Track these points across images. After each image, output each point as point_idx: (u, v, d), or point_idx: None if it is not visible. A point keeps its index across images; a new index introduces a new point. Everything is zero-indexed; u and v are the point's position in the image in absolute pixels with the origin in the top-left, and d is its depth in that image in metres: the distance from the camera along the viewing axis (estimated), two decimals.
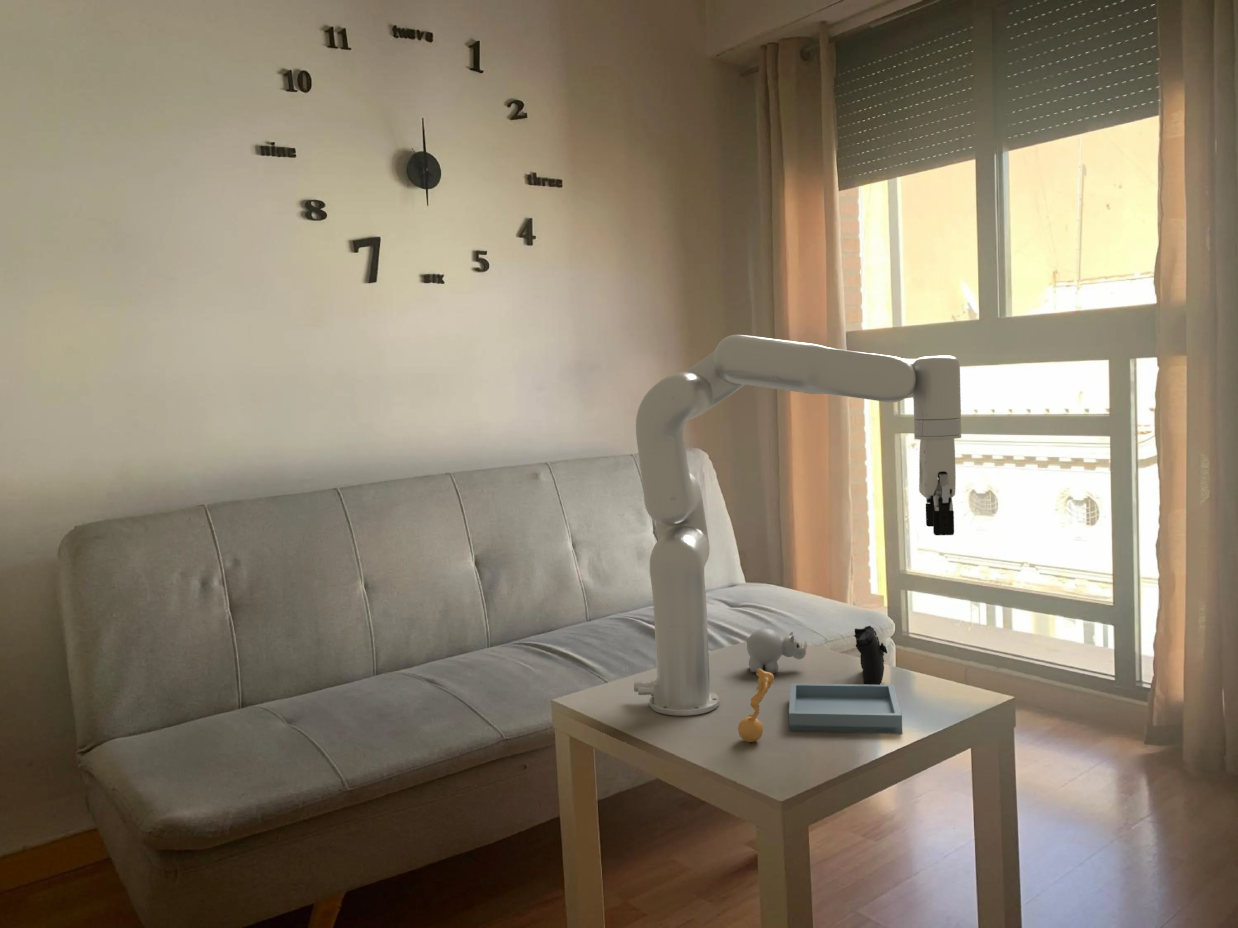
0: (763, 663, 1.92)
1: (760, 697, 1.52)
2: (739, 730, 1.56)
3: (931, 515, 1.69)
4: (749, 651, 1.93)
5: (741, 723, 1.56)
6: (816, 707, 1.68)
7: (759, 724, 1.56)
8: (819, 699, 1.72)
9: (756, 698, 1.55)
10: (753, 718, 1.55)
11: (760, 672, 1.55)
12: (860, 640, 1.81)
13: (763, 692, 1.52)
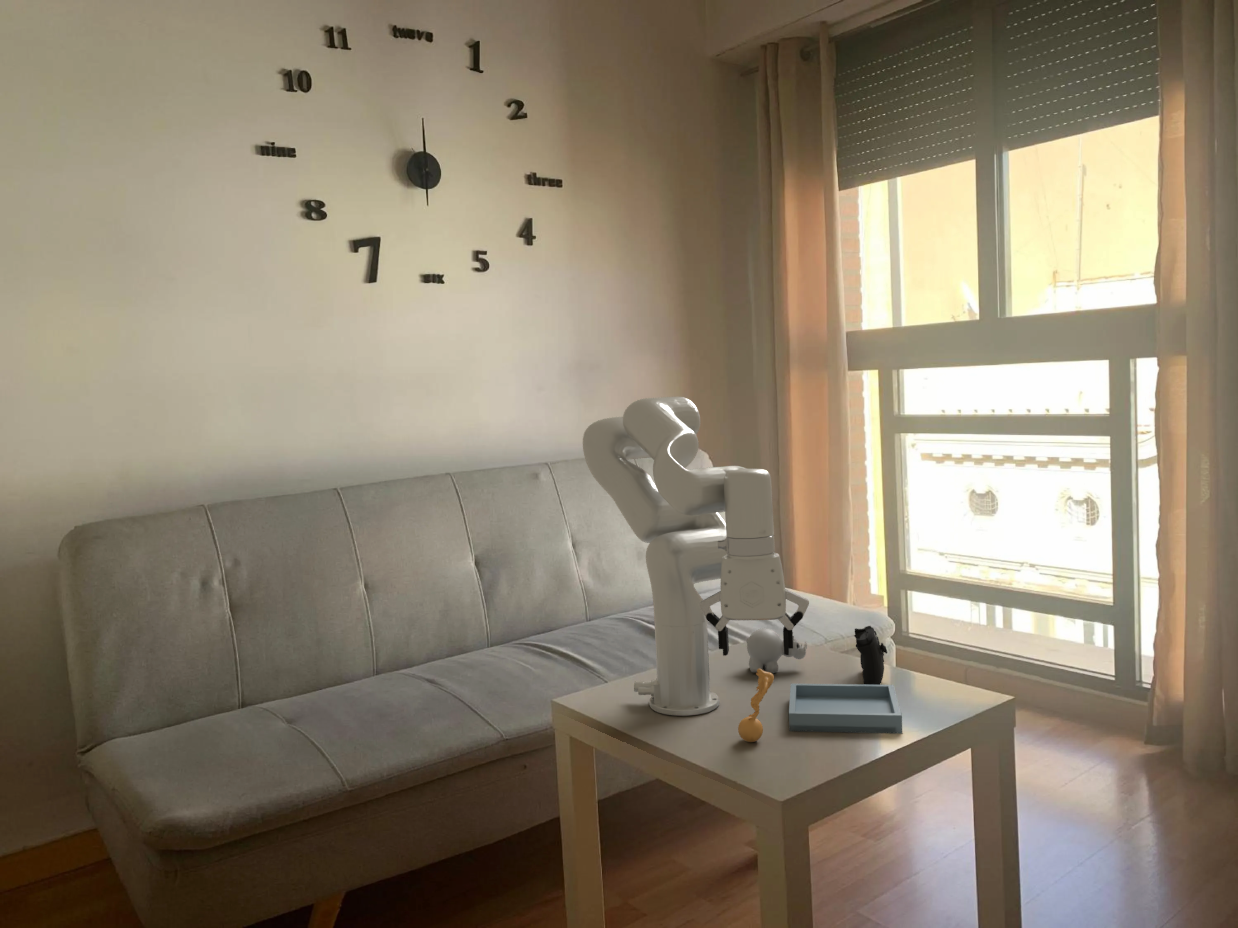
0: (763, 663, 1.92)
1: (760, 697, 1.52)
2: (739, 730, 1.56)
3: (727, 642, 1.55)
4: (749, 651, 1.93)
5: (741, 723, 1.56)
6: (816, 707, 1.68)
7: (759, 724, 1.56)
8: (819, 699, 1.72)
9: (756, 698, 1.55)
10: (753, 718, 1.55)
11: (760, 672, 1.55)
12: (860, 640, 1.81)
13: (763, 692, 1.52)
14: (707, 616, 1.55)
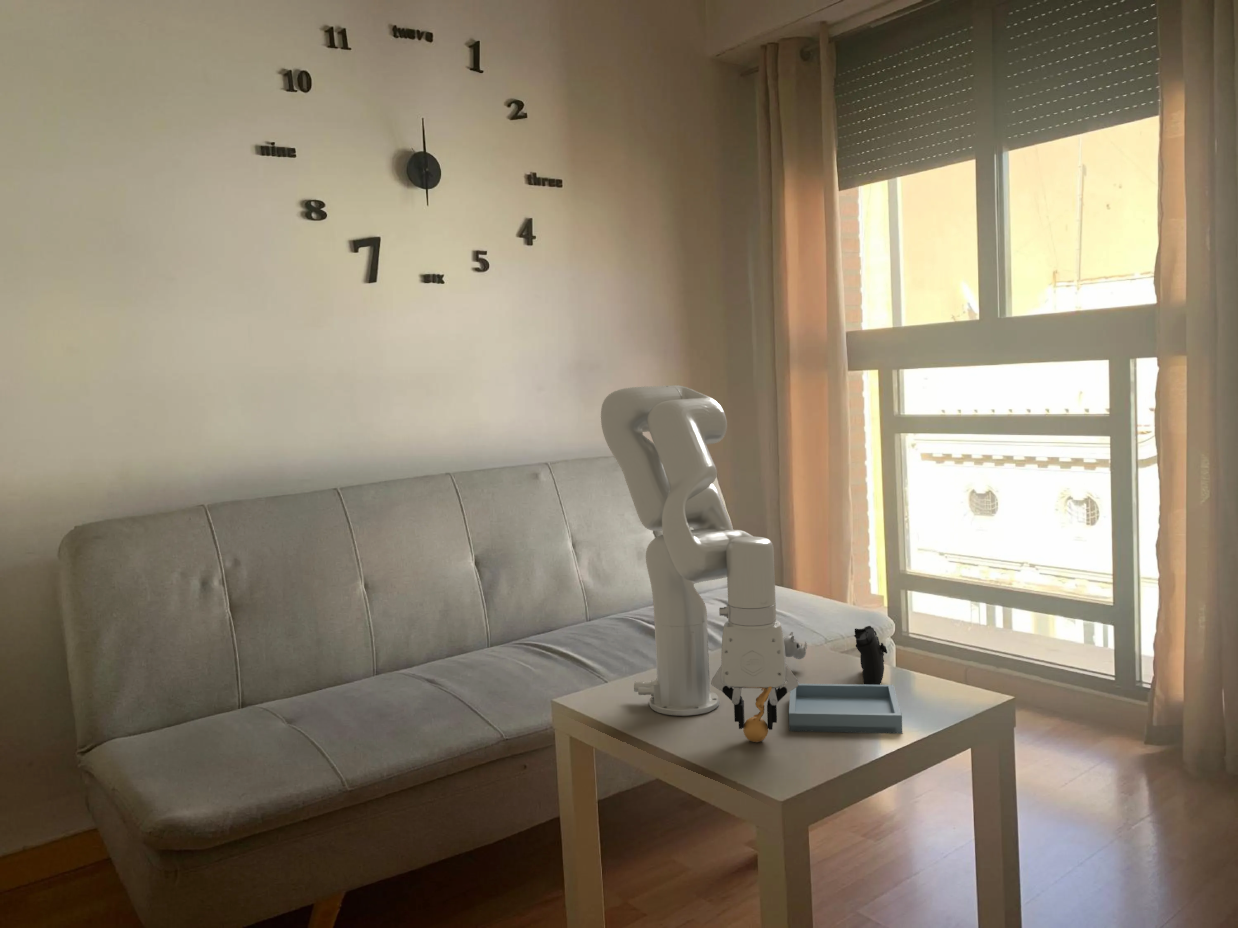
0: None
1: (765, 697, 1.52)
2: (744, 730, 1.56)
3: (743, 715, 1.56)
4: None
5: (746, 723, 1.56)
6: (816, 707, 1.68)
7: (764, 724, 1.55)
8: (819, 699, 1.72)
9: (761, 698, 1.55)
10: (758, 718, 1.55)
11: None
12: (860, 640, 1.81)
13: (768, 692, 1.52)
14: (723, 689, 1.56)
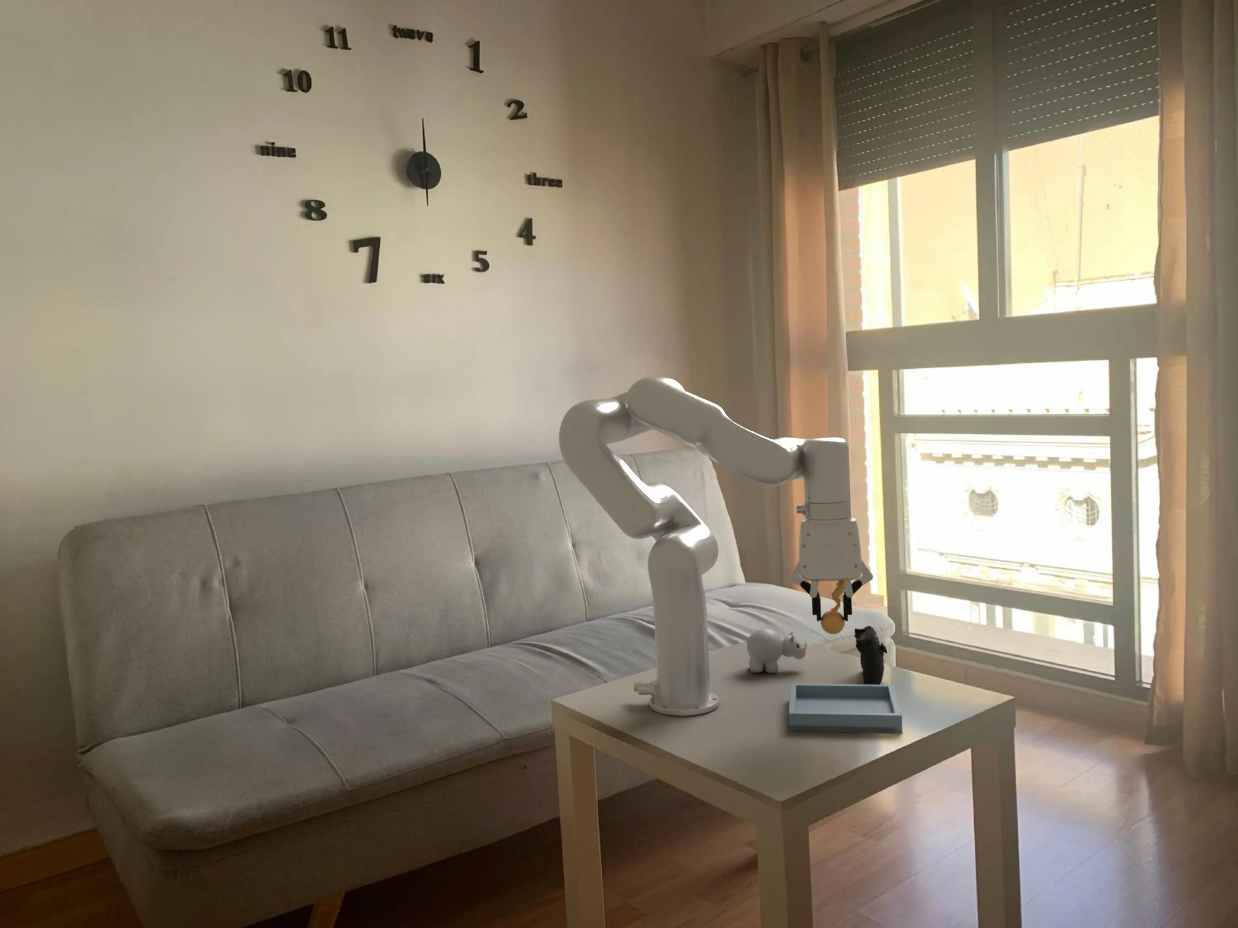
0: (763, 663, 1.92)
1: (841, 588, 1.59)
2: (822, 623, 1.63)
3: (820, 608, 1.63)
4: (749, 651, 1.93)
5: (823, 616, 1.63)
6: (816, 707, 1.68)
7: (841, 616, 1.63)
8: (819, 699, 1.72)
9: (837, 591, 1.62)
10: (835, 610, 1.63)
11: None
12: (860, 640, 1.81)
13: (844, 583, 1.60)
14: (801, 584, 1.64)
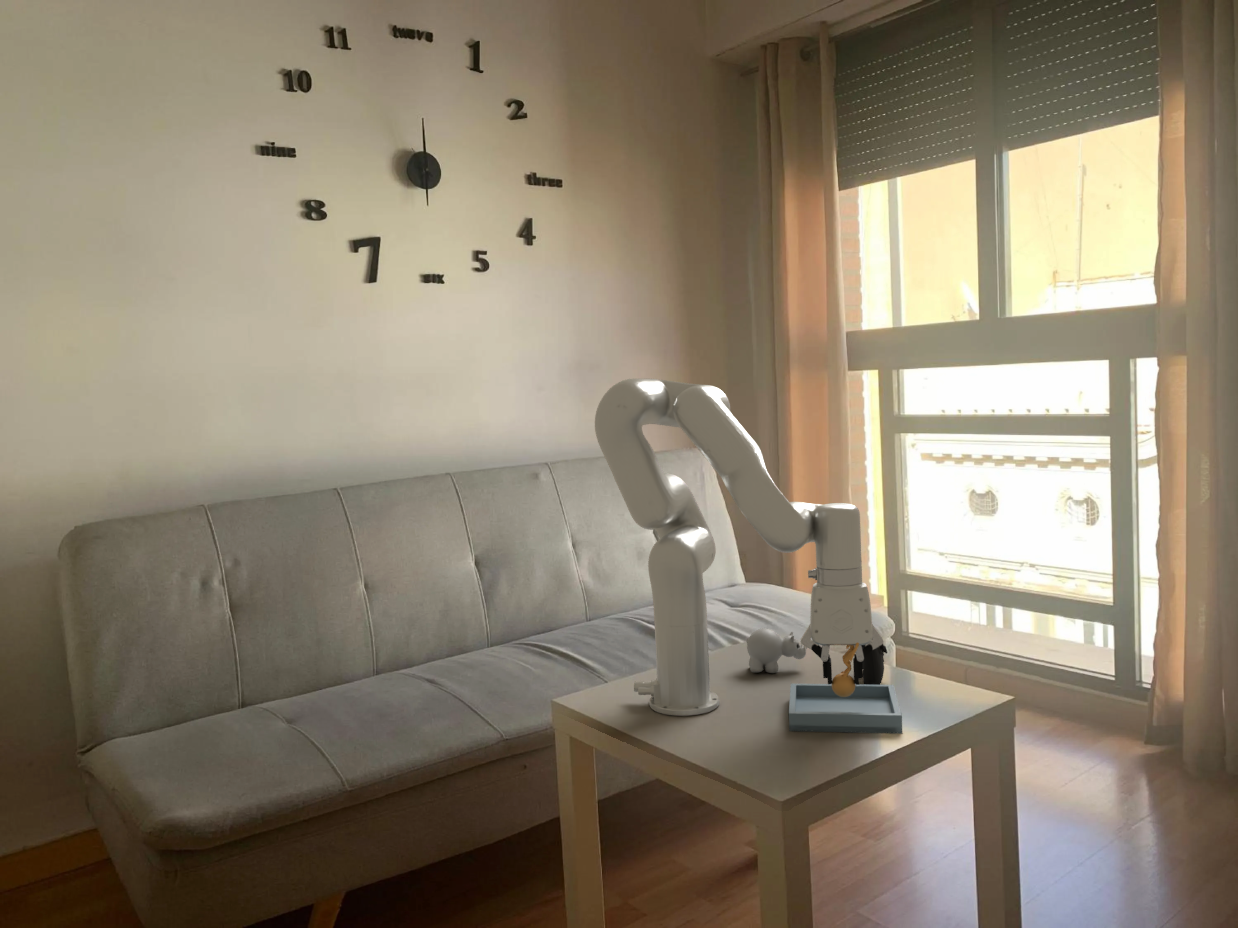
0: (763, 663, 1.92)
1: (853, 653, 1.61)
2: (833, 686, 1.65)
3: (831, 672, 1.66)
4: (749, 651, 1.93)
5: (834, 679, 1.65)
6: (816, 707, 1.68)
7: (852, 679, 1.65)
8: (819, 699, 1.72)
9: (848, 655, 1.64)
10: (846, 674, 1.65)
11: None
12: None
13: (855, 648, 1.62)
14: (813, 647, 1.66)
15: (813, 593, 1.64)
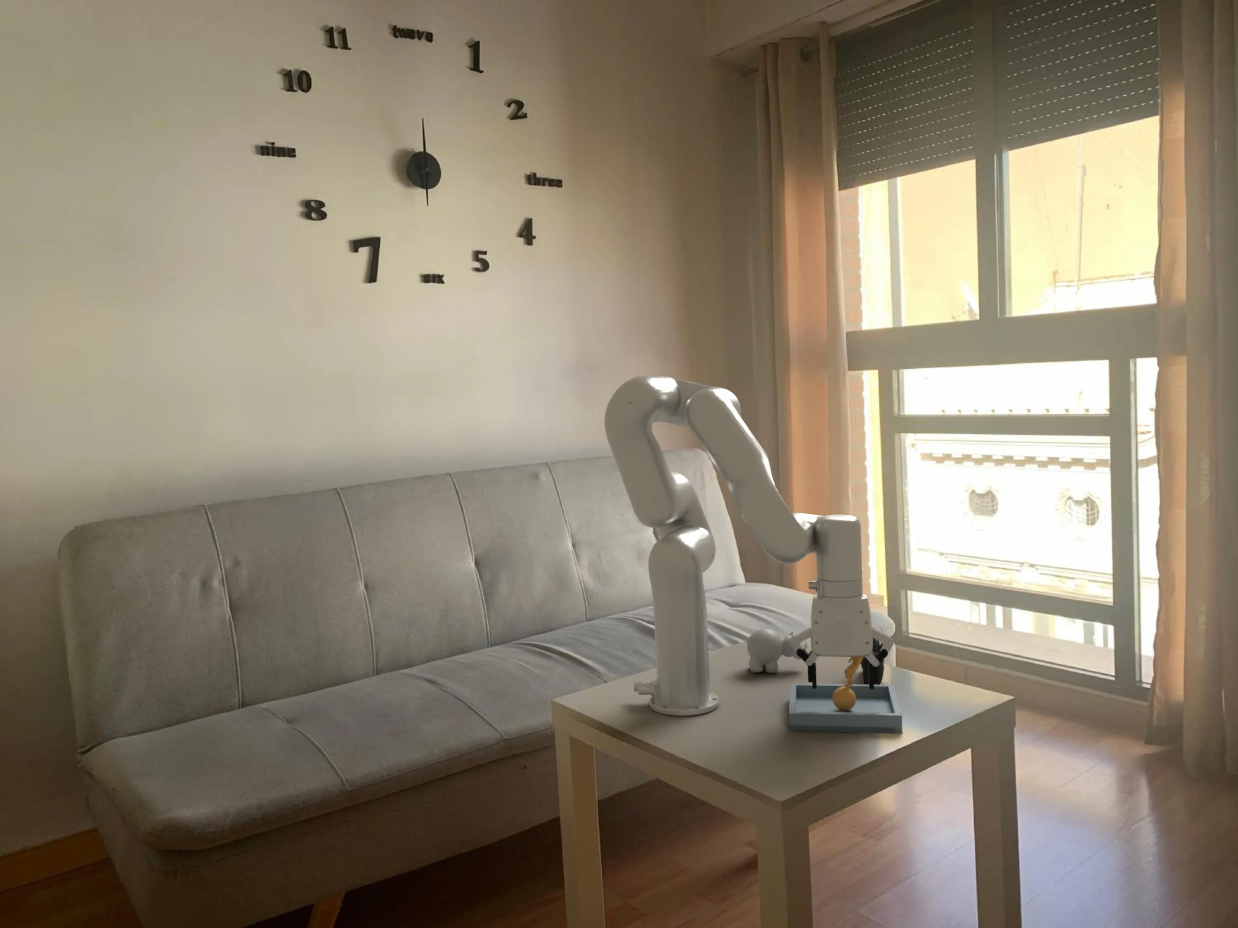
0: (763, 663, 1.92)
1: (856, 668, 1.62)
2: (834, 699, 1.66)
3: None
4: (749, 651, 1.93)
5: (836, 693, 1.66)
6: (816, 707, 1.68)
7: (853, 694, 1.65)
8: (819, 699, 1.72)
9: (850, 669, 1.64)
10: (847, 688, 1.65)
11: None
12: None
13: (859, 663, 1.62)
14: (798, 652, 1.66)
15: (813, 604, 1.64)
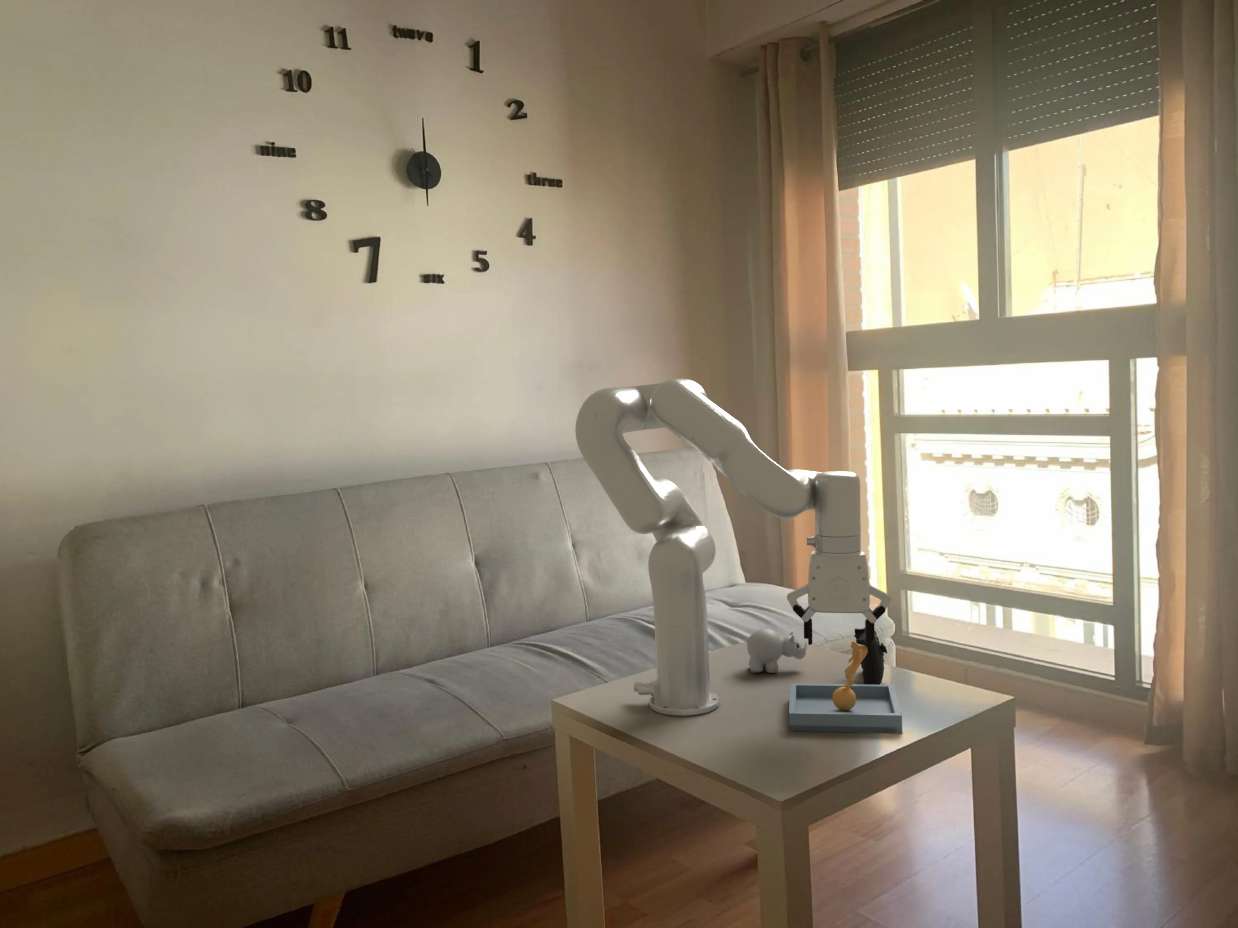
0: (763, 663, 1.92)
1: (856, 667, 1.62)
2: (834, 699, 1.66)
3: None
4: (749, 651, 1.93)
5: (836, 693, 1.66)
6: (816, 707, 1.68)
7: (853, 694, 1.65)
8: (819, 699, 1.72)
9: (851, 669, 1.64)
10: (847, 688, 1.65)
11: (855, 645, 1.65)
12: (860, 640, 1.81)
13: (859, 663, 1.62)
14: (794, 608, 1.66)
15: (811, 560, 1.63)
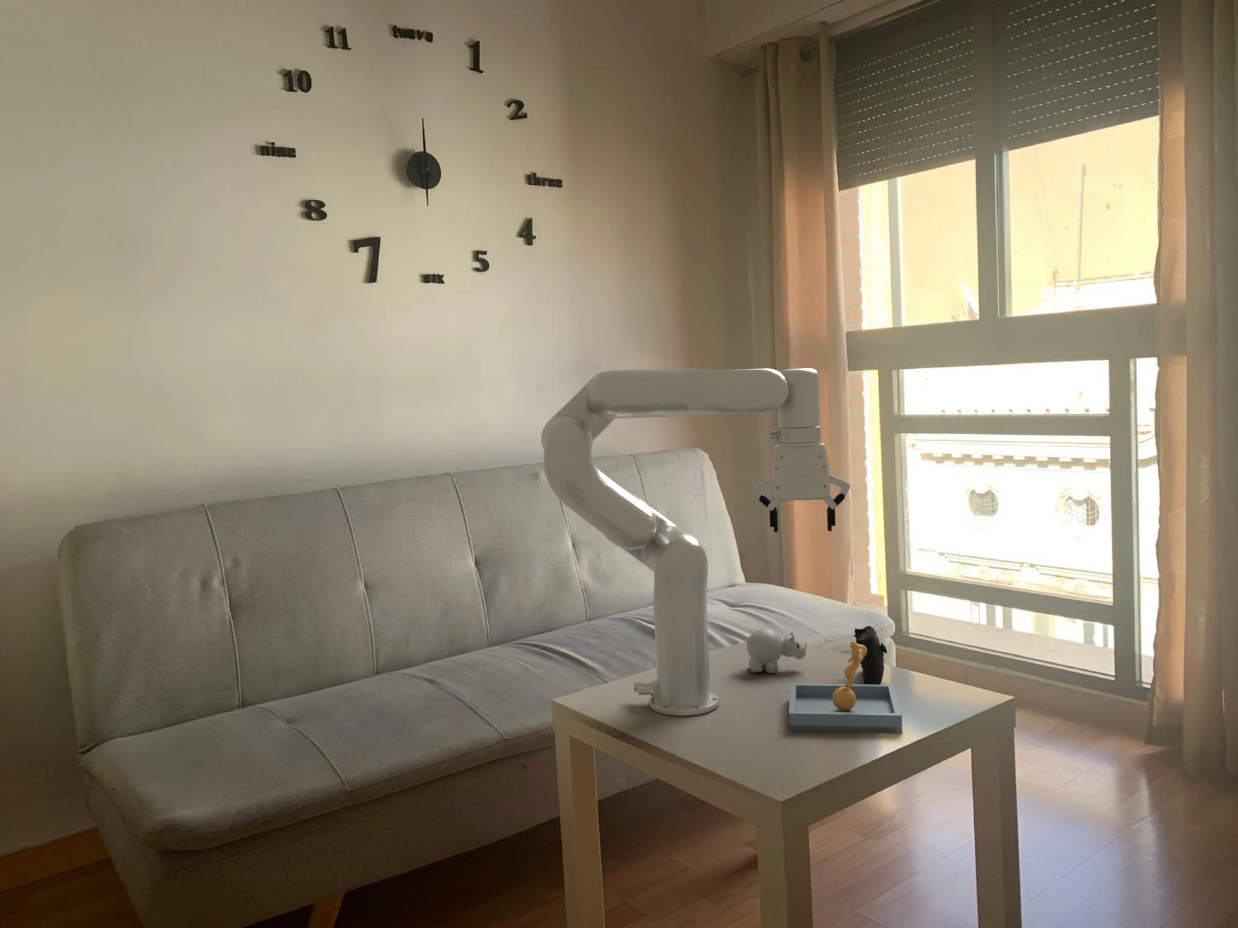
0: (763, 663, 1.92)
1: (855, 668, 1.62)
2: (834, 699, 1.66)
3: (777, 521, 1.77)
4: (749, 651, 1.93)
5: (835, 693, 1.66)
6: (816, 707, 1.68)
7: (853, 694, 1.65)
8: (819, 699, 1.72)
9: (850, 669, 1.64)
10: (847, 688, 1.65)
11: (854, 645, 1.65)
12: (860, 640, 1.81)
13: (858, 663, 1.62)
14: (760, 498, 1.77)
15: (775, 452, 1.75)
